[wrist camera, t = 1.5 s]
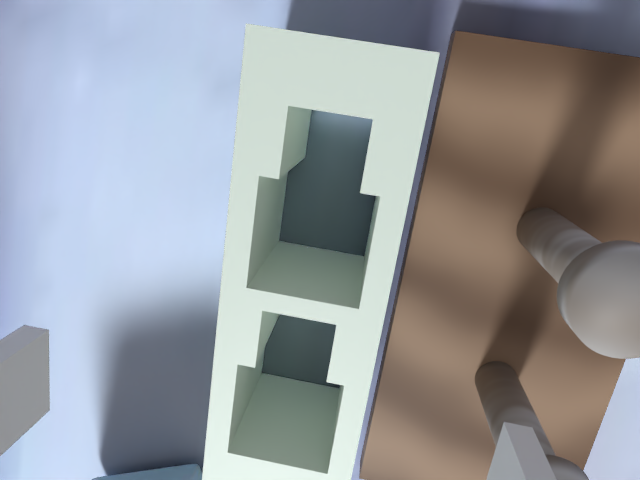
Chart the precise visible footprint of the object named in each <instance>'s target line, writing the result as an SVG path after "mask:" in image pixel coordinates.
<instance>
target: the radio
mask: <svg viewBox="0 0 640 480" xmlns="http://www.w3.org/2000/svg"><path fill="white" fill-rule="evenodd" d="M92 480H202V471H201V469H200V467H199V465H198V464H187V465H180V466H173V467H166V468H159V469H152V470H145V471H138V472H131V473H124V474H117V475H110V476H103V477H97V478H94V479H92Z"/></svg>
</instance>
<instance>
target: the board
mask: <svg viewBox="0 0 640 480" xmlns="http://www.w3.org/2000/svg"><path fill="white" fill-rule="evenodd" d="M639 357H640V58H639V57H633V56H626V55H619V54H612V53H605V52H599V51H592V50H585V49H578V48H571V47H564V46H558V45H551V44H544V43H537V42H530V41H523V40H517V39H510V38H503V37H496V36H489V35H482V34H476V33H469V32H462V31H455V32H453V33H452V34H451V37H450V42H449V47H448V51H447V56H446V61H445V65H444V70H443V75H442V80H441V84H440V89H439V94H438V98H437V103H436V108H435V112H434V117H433V122H432V127H431V131H430V136H429V141H428V145H427V150H426V155H425V159H424V164H423V169H422V173H421V178H420V183H419V188H418V192H417V197H416V202H415V206H414V211H413V216H412V220H411V225H410V230H409V235H408V239H407V244H406V249H405V253H404V258H403V263H402V267H401V272H400V277H399V281H398V286H397V291H396V296H395V300H394V305H393V310H392V314H391V319H390V324H389V328H388V333H387V338H386V343H385V347H384V352H383V357H382V361H381V366H380V371H379V375H378V380H377V385H376V389H375V394H374V399H373V404H372V408H371V413H370V418H369V422H368V427H367V432H366V436H365V441H364V446H363V450H362V455H361V460H360V476H359V478H360V479H365V480H486V479H487V475H488V472H489V469H490V466H491V462H492V459H493V456H494V453H495V449H496V446H497V443H498V439H499V436H500V433H501V430H502V426H503V423H504V422H508V423H513V424H517V425H522V426H527V427H532V428H533V430H534V432H535V434H536V436H537V438H538V441H539V443H540V445H541V447H542V449H543V451H544V454H545V456H546V458H547V460H548V462H549V464H550V467H551V469H552V471H553V473H554V475H555V477H556V479H557V480H589V479H588V477H587V476H586V474H585V473H584V472H583V470H584V467H585V464H586V462H587V459H588V456H589V454H590V451H591V449H592V446H593V443H594V441H595V438H596V435H597V433H598V430H599V428H600V425H601V422H602V420H603V417H604V415H605V412H606V409H607V407H608V404H609V401H610V399H611V396H612V394H613V391H614V388H615V386H616V383H617V380H618V378H619V375H620V373H621V370H622V367H623V365H624V362H625V359H631V358H639Z"/></svg>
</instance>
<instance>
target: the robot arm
mask: <svg viewBox="0 0 640 480" xmlns="http://www.w3.org/2000/svg"><path fill="white" fill-rule="evenodd" d="M49 410H50V402H49V330H47V329H42V328H37V327H32V326H27V325H23V326H22V327H20V328H18V329H17V330H15V331H14V332H12V333H11V334H9V335H7V336H6V337H4V338H3V339H1V340H0V456H1V455H2V454H3V453H4V452H5V451H6V450H7V449H9V448H10V447H11V446H12V445H13V444H14V443H15V442H16V441H17V440H18V439H19V438H20V437H21V436H23V435H24V434H25V433H26V432H27V431H28V430H29V429H30V428H31V427H32V426H33V425H34V424H35V423H36V422H38V421H39V420H40V419H41V418H42V417H43V416H44V415H45V414H46V413H47V412H48V411H49ZM486 480H557V479H556V477H555V475H554V473H553V471H552V469H551V467H550V464H549V462H548V460H547V458H546V456H545V454H544V451H543V449H542V447H541V445H540V443H539V441H538V438H537V436H536V434H535V432H534V430H533V428H532V427H527V426H522V425H517V424H513V423H508V422H504V423H503V426H502V430H501V433H500V436H499V439H498V443H497V446H496V449H495V453H494V456H493V459H492V462H491V466H490V469H489V472H488V475H487V479H486Z"/></svg>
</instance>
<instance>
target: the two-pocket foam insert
mask: <svg viewBox="0 0 640 480" xmlns="http://www.w3.org/2000/svg"><path fill="white" fill-rule="evenodd" d="M439 55H440V53H439V52H432V51H425V50H419V49H412V48H405V47H399V46H392V45H385V44H379V43H372V42H365V41H359V40H352V39H345V38H339V37H332V36H325V35H319V34H312V33H305V32H299V31H292V30H285V29H279V28H272V27H265V26H259V25H252V24H246V28H245V39H244V49H243V59H242V70H241V80H240V91H239V101H238V111H237V122H236V132H235V142H234V153H233V163H232V173H231V184H230V194H229V204H228V215H227V225H226V236H225V246H224V256H223V267H222V277H221V287H220V298H219V308H218V318H217V329H216V339H215V349H214V360H213V370H212V381H211V391H210V401H209V412H208V422H207V432H206V443H205V453H204V463H203V474H202V480H351V476H352V471H353V466H354V462H355V457H356V452H357V447H358V442H359V438H360V433H361V428H362V423H363V419H364V414H365V409H366V404H367V399H368V395H369V390H370V385H371V380H372V375H373V371H374V366H375V361H376V356H377V351H378V347H379V342H380V337H381V332H382V328H383V323H384V318H385V313H386V308H387V304H388V299H389V294H390V289H391V284H392V280H393V275H394V270H395V265H396V260H397V256H398V251H399V246H400V241H401V237H402V232H403V227H404V222H405V217H406V213H407V208H408V203H409V198H410V193H411V189H412V184H413V179H414V174H415V169H416V165H417V160H418V155H419V150H420V146H421V141H422V136H423V131H424V126H425V122H426V117H427V112H428V107H429V102H430V98H431V93H432V88H433V83H434V78H435V74H436V69H437V64H438V59H439ZM312 110H318V111H324V112H330V113H336V114H342V115H349V116H355V117H361V118H367V119H373V122H372V127H371V133H370V139H369V144H368V150H367V156H366V161H365V167H364V172H363V178H362V184H361V189H360V193H362V194H368V195H374V196H376V197H375V202H374V208H373V213H372V218H371V224H370V229H369V234H368V240H367V245H366V250H365V256H360V255H355V254H349V253H343V252H338V251H332V250H327V249H321V248H316V247H310V246H305V245H299V244H294V243H288V242H283V241H279V238H280V230H281V222H282V215H283V207H284V199H285V192H286V184H287V177H288V171H289V170H291V169H292V168H293V167H294V166H295V165H297V164H298V163H299V162H300V161H302V160H303V159H304V158H305V155H306V148H307V141H308V134H309V127H310V120H311V113H312ZM280 314H282V315H287V316H292V317H298V318H303V319H308V320H313V321H319V322H324V323H329V324H334V325H336V330H335V336H334V342H333V347H332V353H331V359H330V364H329V370H328V375H327V381H326V382H328V383H333V384H338V385H340V388H335V387H330V386H325V385H320V384H315V383H310V382H305V381H300V380H295V379H290V378H285V377H280V376H275V375H270V374H265V373H262V367H263V360H264V352H265V345H266V343H267V341H268V339H269V337H270V334H271V332H272V330H273V328H274V326H275V324H276V321H277V319H278V317H279V315H280Z"/></svg>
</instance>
